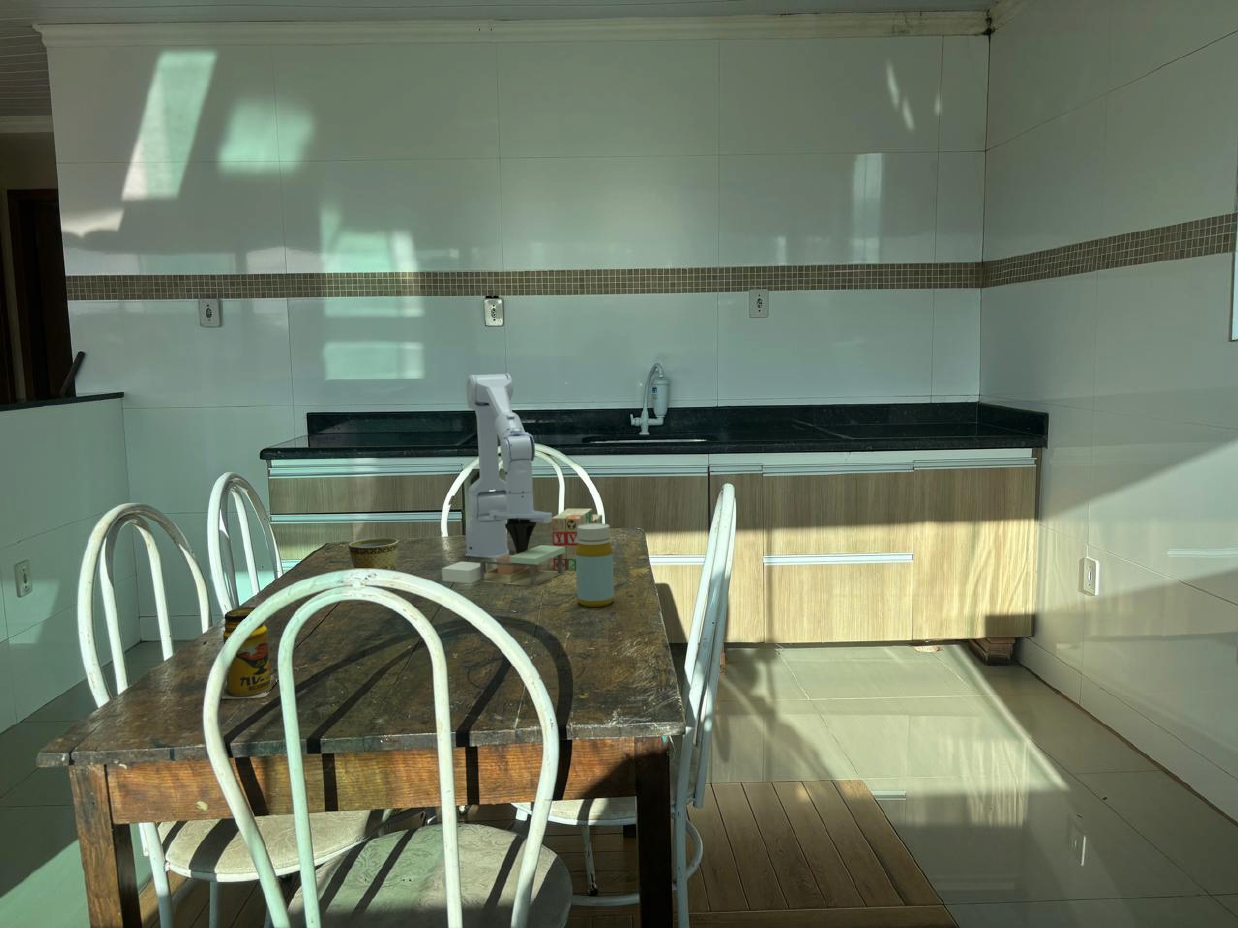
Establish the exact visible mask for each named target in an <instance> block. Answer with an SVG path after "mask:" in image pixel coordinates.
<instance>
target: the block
mask: <svg viewBox="0 0 1238 928" xmlns="http://www.w3.org/2000/svg"><path fill="white" fill-rule="evenodd" d="M511 556H513V555H509V554H508V555H505V556H503V557H500V558H496V562H508V563H510V557H511ZM520 564H522V563H520ZM496 565H497V564H496ZM496 567H497V569H498V574H504V575H510V574H512V573H515V572H517V571H520V570H522V569H523V567H522V566H509V565H497V566H496Z"/></svg>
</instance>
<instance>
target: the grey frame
mask: <svg viewBox="0 0 1238 928" xmlns="http://www.w3.org/2000/svg"><path fill="white" fill-rule="evenodd" d="M508 550H509V554H508V555H515V554H517V552H516V549H508ZM557 562H558V570H554V571H553V570H544V569H540V563H538V564H536V565H535V564H520V563H508V562H497V560H496V561H493V560H486V559H481V560H479V563H480V570H481V579H480V582H483V583H484V582H485V583H486V582H487V583H497V584H498V583H499V584H508V585H517V586H528V587H529V586H530V587H535V586H537V585H540V584H541V583H544V582H546V581H548V580H550V579H552V578H555V577H557V576H559V575H562V574H564V573H565V572H564V570H563V561H562V554H560V555H557ZM486 564H488V565H509V566H522V567H523V569H522V570H520V571H517V572H515V573H512V574H510V575H504V574H498V569H497V566H496V567H494V568H491V569H488V571H486Z"/></svg>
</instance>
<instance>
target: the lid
mask: <svg viewBox="0 0 1238 928" xmlns="http://www.w3.org/2000/svg"><path fill="white" fill-rule="evenodd" d="M562 553H565V547H560V546H553V545H545V544H543V545H541V544H539V545H537V546H535V547H532V548H528V549H527V550H526V551H524V552H521V553H518V554H517V553H515V554H514V555H513V556H511V557H510V563H522V564H535V565H536V564H541V563H542V562H545V561H547V560H550V559H551V558H552V559H553V558H554V557H555V556H557V555H560V554H562Z"/></svg>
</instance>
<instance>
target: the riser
mask: <svg viewBox="0 0 1238 928" xmlns="http://www.w3.org/2000/svg"><path fill="white" fill-rule="evenodd" d="M488 567H489V564H486V571H488V570H489V568H488ZM441 575H442V576H441V577H442V580H441V581H442V582H447V583H449V582H450V583H461V584H472V583H475V582H477V581H481V570H480V562H470V561H459V562H455V563H453V564H450V565H446V566H445V567H442V568H441Z"/></svg>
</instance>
